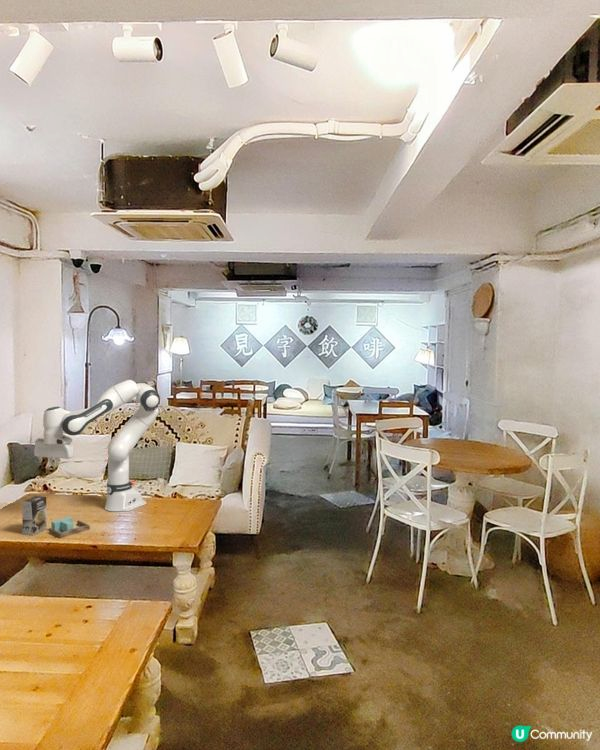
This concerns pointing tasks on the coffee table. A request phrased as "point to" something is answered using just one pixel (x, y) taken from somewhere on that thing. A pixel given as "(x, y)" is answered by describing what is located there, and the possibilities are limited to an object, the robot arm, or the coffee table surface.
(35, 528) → the coffee box
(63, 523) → the t block
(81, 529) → the dark u-shaped bracket
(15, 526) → the coffee table surface
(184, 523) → the coffee table surface
